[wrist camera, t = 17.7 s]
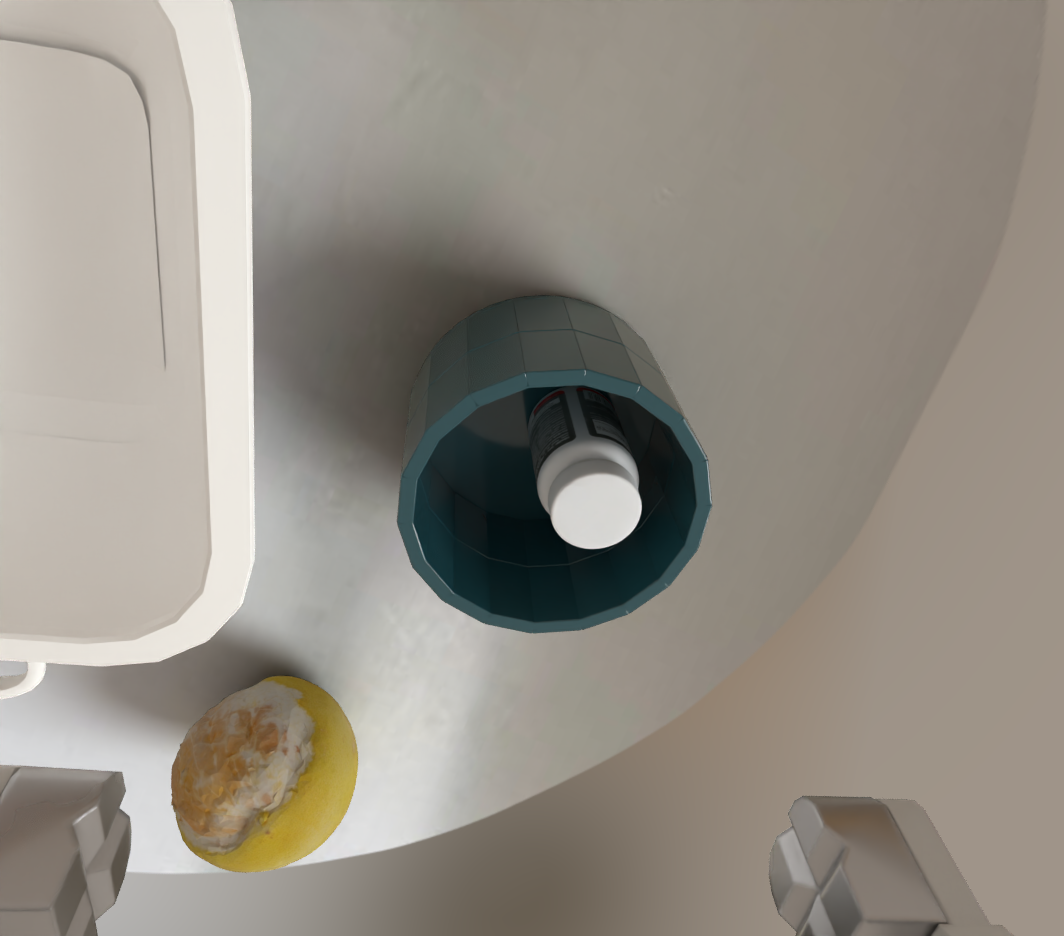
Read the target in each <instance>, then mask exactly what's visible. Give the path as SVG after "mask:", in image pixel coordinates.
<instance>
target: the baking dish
mask: <svg viewBox="0 0 1064 936" xmlns="http://www.w3.org/2000/svg"><path fill="white" fill-rule="evenodd" d="M254 559H255V492H254V365H253V259H252V154H251V94H250V89H249V84H248V79H247V74H246V69H245V64H244V59H243V54H242V49H241V44H240V39H239V35H238V30H237V25H236V20H235V15H234V10H233V5H232V3H231V1H230V0H0V660H6V661H22V662H28V669H27V672H26V673H24V674H20V675H17V676H0V699H4V698H10V697H16V696H19V695H21V694H24V693H26V692H29V691H31V690H33V689H34V688H35V687H36V686H37V685H38V684H39V683H40V682H41V681H42V679H43V677H44V674H45V671H46V663H54V664H70V665H86V666H114V665H126V664H139V663H151V662H160V661H162V660H164V659H167V658H169V657H171V656H174V655H176V654H179V653H181V652H183V651H186V650H188V649H190V648H193V647H195V646H198V645H200V644H202V643H205V642H207V641H208V640H210V639H211V637H212V636H213V635H214V634H215V633H216V632H217V631H218V630H219V629H220V628H221V627H222V626H223V625H224V624H225V623H226V622H227V621H228V619H229V618H230V617H231V616H232V615H233V614H234V613H235V612H236V611H237V610H238V609H239V608H240V607H241V606H242V605H243V601H244V597H245V593H246V590H247V586H248V582H249V578H250V575H251V571H252V567H253V563H254Z"/></svg>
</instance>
